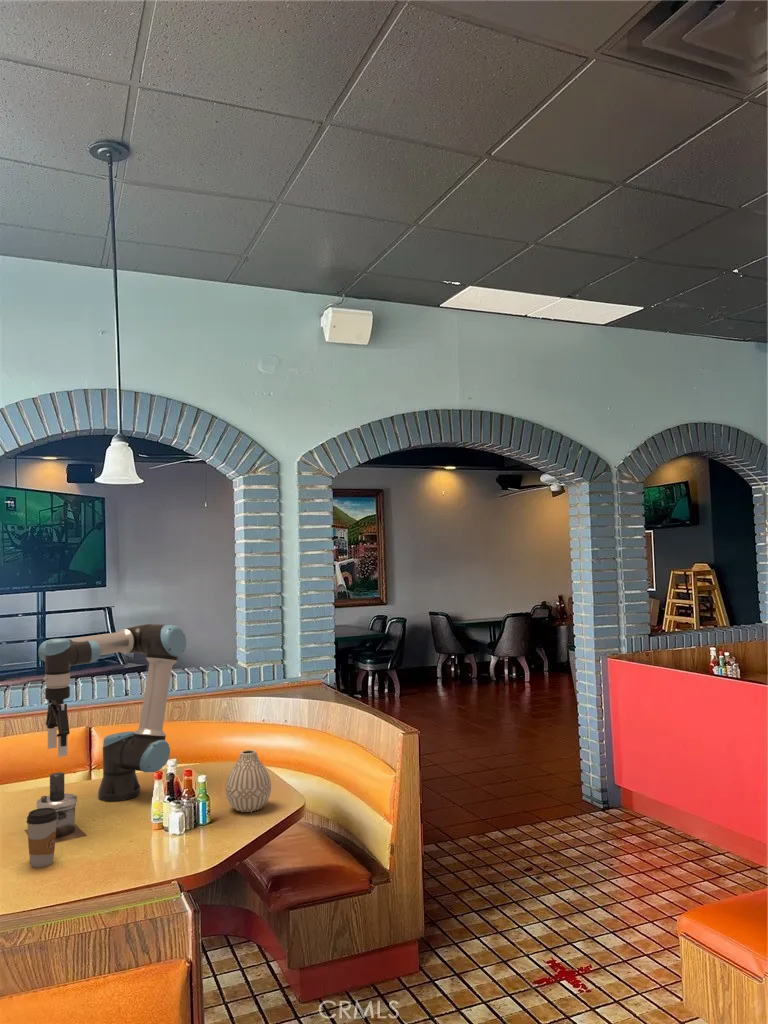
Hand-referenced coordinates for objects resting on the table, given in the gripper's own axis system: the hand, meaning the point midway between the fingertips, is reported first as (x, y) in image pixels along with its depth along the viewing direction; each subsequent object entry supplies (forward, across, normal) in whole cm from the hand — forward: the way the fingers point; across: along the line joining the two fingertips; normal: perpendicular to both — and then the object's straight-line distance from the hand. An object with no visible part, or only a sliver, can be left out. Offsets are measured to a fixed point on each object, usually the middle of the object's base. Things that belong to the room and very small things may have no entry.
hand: (57, 752), depth 252 cm
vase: (+27, +17, +60) cm, 68 cm away
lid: (+17, 0, 0) cm, 17 cm away
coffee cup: (+27, +23, -10) cm, 36 cm away
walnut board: (+26, 0, -1) cm, 27 cm away
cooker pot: (+26, 0, 0) cm, 26 cm away
